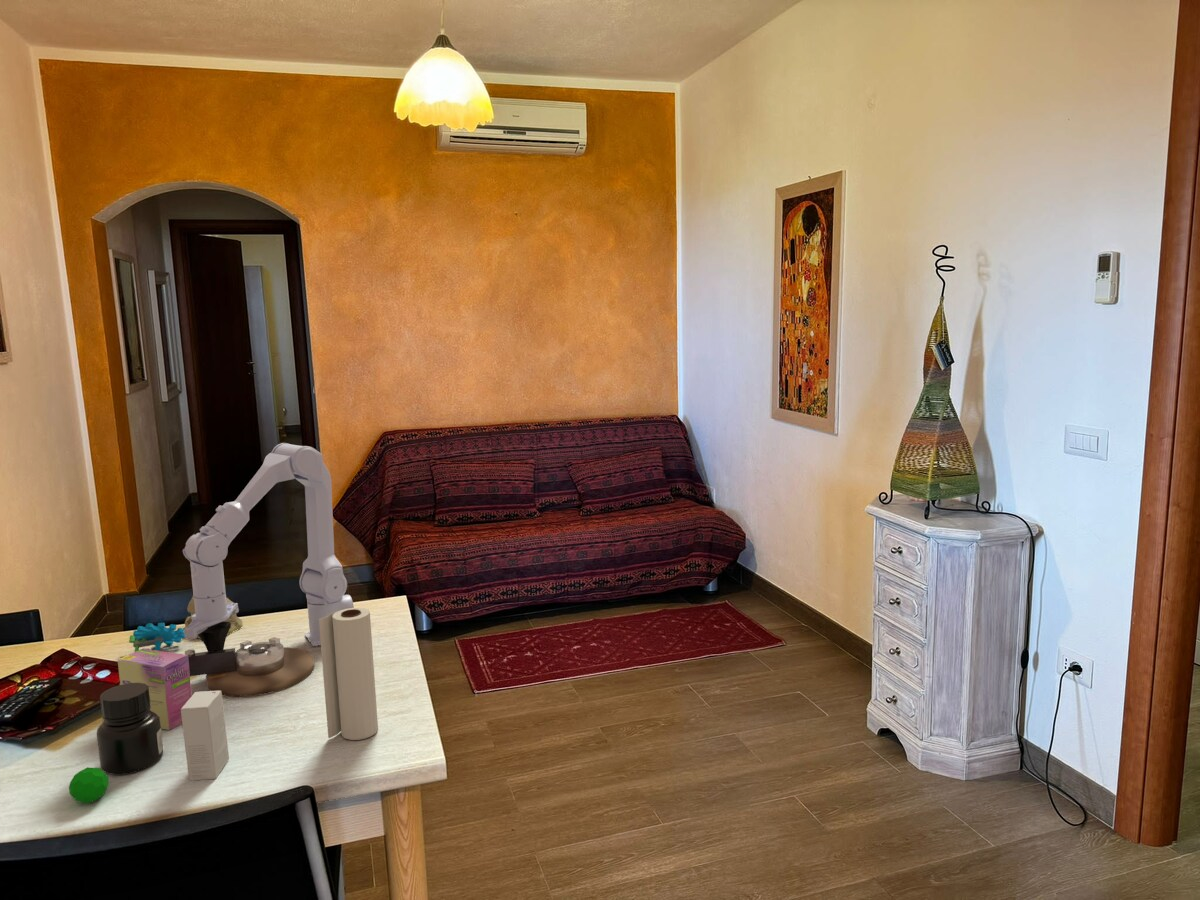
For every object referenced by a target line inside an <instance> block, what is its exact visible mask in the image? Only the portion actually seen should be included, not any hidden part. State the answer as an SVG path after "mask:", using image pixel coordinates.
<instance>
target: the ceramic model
mask: <svg viewBox="0 0 1200 900" xmlns="http://www.w3.org/2000/svg"><path fill="white" fill-rule="evenodd" d="M226 602H227V604H228V603H234V601H232V600H230V599H229V597H226ZM186 608H187V613H190V616H187V617H185V618H186V619H185V621H184V627H185V628H186V627H188V626H189V624H190V623H191V622H192V621H193V620H192V619H191V616H192V615H194V614H195V605H194V596H193V595H192V597H191V599H190V601H189V602H188V605H187V607H186ZM239 611H240V608H238V612H239ZM224 622H230V623H231V627H230V629H229V631H228V634H229V635H231V634H233V633H234V632H233V631H235V630H237V629H239V628H241V627H242V628H243V626H244V625H243V620H242V619H241V618H240V617H239V616H237V613H236V614H231V615H230V616H229V618H228V619H227V620H225V621H224ZM242 628H241V629H242ZM239 630H240V629H239ZM237 631H238V630H237ZM232 632H233V633H232ZM235 632H236V631H235ZM230 633H231V634H230ZM228 634H227V635H228ZM229 635H228V636H229ZM196 639H200V640H201V638H200V637H199V636H198V635H197V637H196Z"/></svg>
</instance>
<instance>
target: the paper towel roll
mask: <svg viewBox="0 0 1200 900" xmlns="http://www.w3.org/2000/svg"><path fill="white" fill-rule="evenodd" d="M371 624H372V621H371V612H370V610H369V609H367V608H364V607H354V608H349V609H344V610H340V611H337V612H334V613H332V614H330V615H328V616H326V617H324V618H321V619H319V628H320V640H321V645H320V649H321V650H320V651H321V664H322V676H323V687H324V699H325V700H324V701H325V702H324V703H325V711H326V712H325V713H326V725H327V735H328V736H327V737H328V739H330V738H334V737H335V736H336V735H338V734H339V733H341V736H342V738H344V739H346V740H349V741H359V740H364V739H367V738H369V737H373V736H374V735H376V733H377V732H378V730H379V726H378V723H379V722H378V711H377V694H376V680H375V667H374V666H375V665H374V654H373V653H374V652H373V651H374V650H373V637H372V625H371Z"/></svg>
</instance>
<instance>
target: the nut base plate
mask: <svg viewBox="0 0 1200 900" xmlns="http://www.w3.org/2000/svg"><path fill="white" fill-rule="evenodd" d="M283 647H284V658H285V664H284V665H283V666H282V667H281V668H279V669H278V670H275V671H273V672H270V673H266V674H262V675H251V676H249V675H242V674H239V673H238V672H237V671H236V670H235V671H227V672H220V673H212V674H205V680H206V681H205V682H206V687H207V689H208V691H221V692H222V696H225V697H251V696H260V695H265V694H270V693H275V692H278V691H281V690H283V689H287V688H289V687H293V686H294V684H295V685H296V684H299V683H301V682H302V681H304V680H305V679H307V678H308V677H309V676H311V674H312V673H313V672H312V671H314V669H315V659H314V655H312V653H310V652H308V651H307V650H306V649H301V648H296V647H286V646H283ZM300 681H301V682H300Z"/></svg>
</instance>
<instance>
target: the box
mask: <svg viewBox="0 0 1200 900" xmlns="http://www.w3.org/2000/svg"><path fill="white" fill-rule="evenodd" d="M117 665H118V666H117V667H118V674H119V675H118V677H119V685H122V684H128V683H145V684H146V685H148V687H149V696H150V705H151V708H150V710H151V711H152V712H154V713H156V714H157V715H158V716H159V719H160V725H161V730H162V729H163V730H166V731H171V730H173V729H174V728H177V727H178V726H180V725H181V724H182V717H181V708H182V707H183V706H184V705H185V703H186V702H187V701H188V700H189V699H190V698H191V696H192V695H193V694H192V684H191V676H190V671H189V660H188V655H185V653H184V654H182V653H176V652H170V651H164V650H163V651H162V650H160V651H157V650H155V649H150V648H140V649H139V650H138V651H136V652H134V651H133V652H132V653H129V654H128V655H125V656H123V657H121V658H118V660H117Z"/></svg>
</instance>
